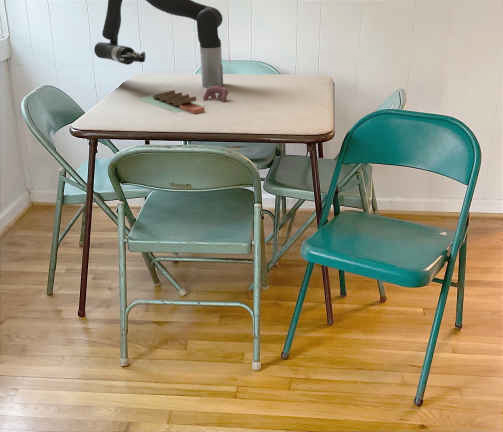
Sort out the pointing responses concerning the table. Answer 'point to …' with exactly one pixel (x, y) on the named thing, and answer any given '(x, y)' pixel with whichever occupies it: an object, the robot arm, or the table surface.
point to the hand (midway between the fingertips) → (142, 59)
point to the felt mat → (163, 104)
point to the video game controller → (216, 89)
